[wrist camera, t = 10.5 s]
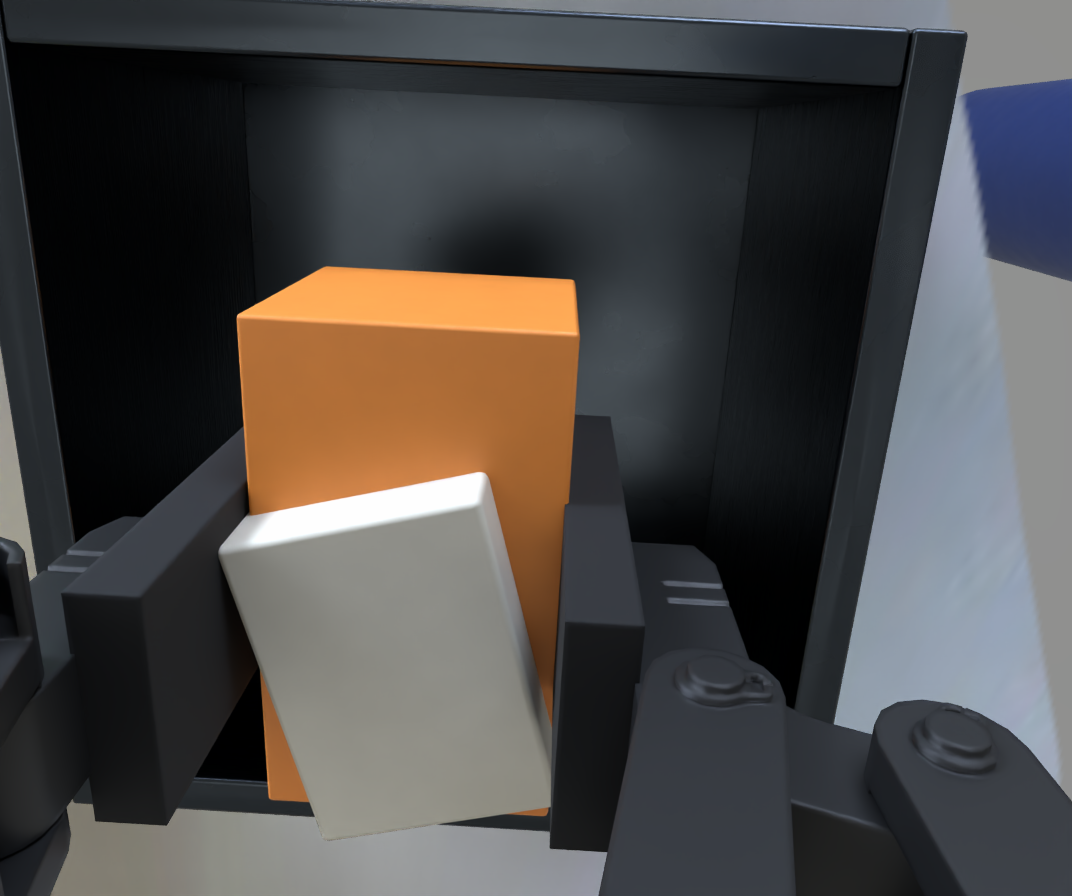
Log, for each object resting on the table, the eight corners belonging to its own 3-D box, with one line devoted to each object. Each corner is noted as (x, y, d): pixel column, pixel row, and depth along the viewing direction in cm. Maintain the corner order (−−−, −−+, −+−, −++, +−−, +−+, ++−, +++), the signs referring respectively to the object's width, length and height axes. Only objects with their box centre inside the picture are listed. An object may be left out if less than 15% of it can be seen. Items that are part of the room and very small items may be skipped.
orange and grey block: (581, 279, 14) (590, 351, 9) (556, 660, 16) (553, 868, 12) (317, 264, 14) (195, 329, 9) (331, 647, 16) (239, 850, 12)
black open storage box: (786, 78, 22) (970, 30, 12) (719, 584, 27) (810, 849, 17) (220, 49, 23) (-61, -21, 12) (254, 557, 28) (72, 804, 17)
